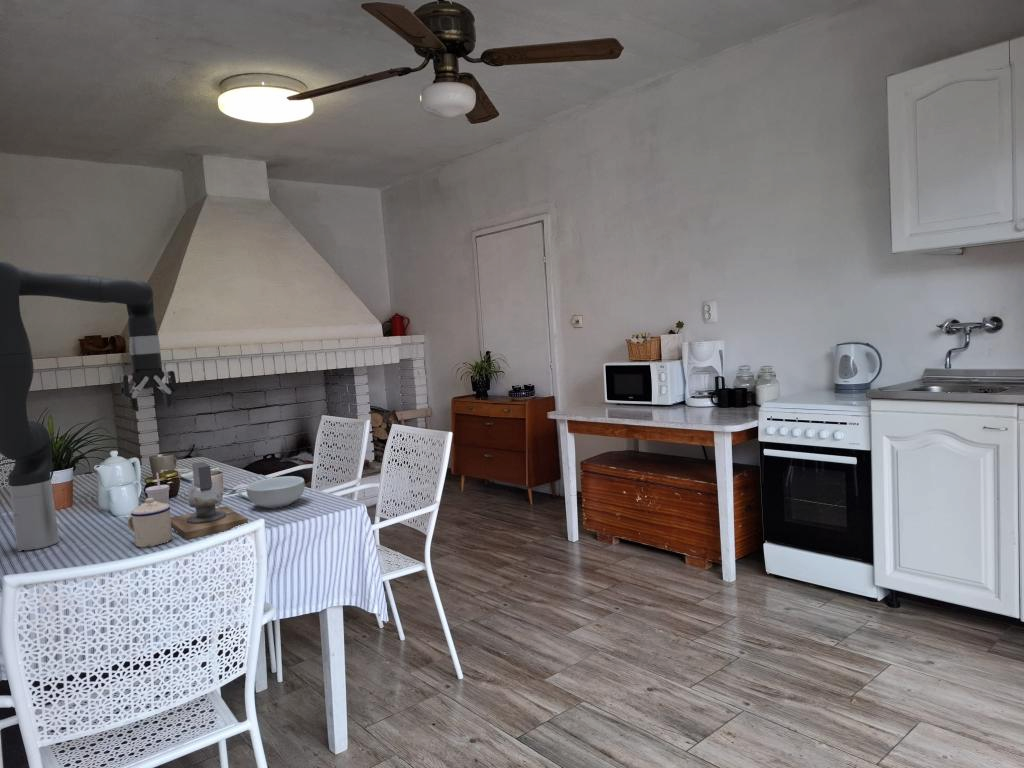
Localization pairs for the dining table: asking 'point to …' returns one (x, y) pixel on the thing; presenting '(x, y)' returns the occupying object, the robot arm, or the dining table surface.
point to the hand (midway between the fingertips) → (151, 409)
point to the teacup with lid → (151, 523)
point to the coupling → (203, 487)
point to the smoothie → (158, 492)
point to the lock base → (206, 521)
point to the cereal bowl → (276, 491)
